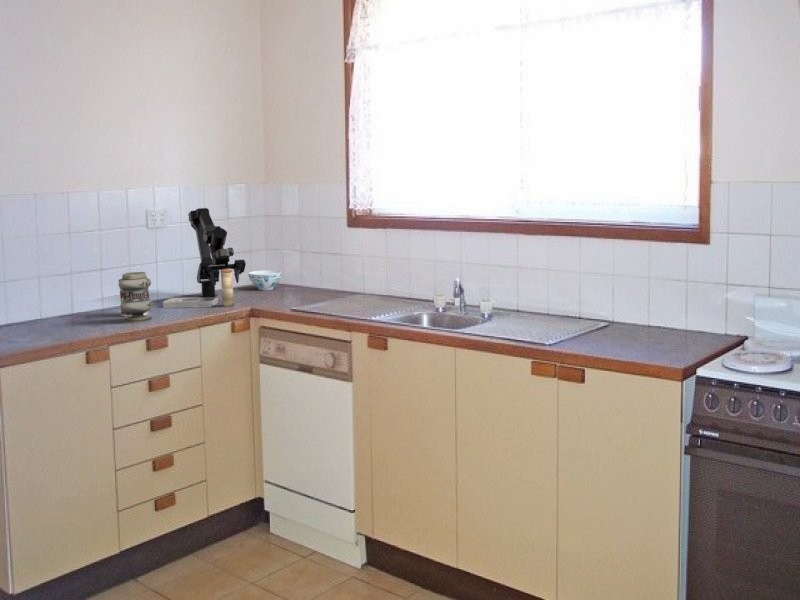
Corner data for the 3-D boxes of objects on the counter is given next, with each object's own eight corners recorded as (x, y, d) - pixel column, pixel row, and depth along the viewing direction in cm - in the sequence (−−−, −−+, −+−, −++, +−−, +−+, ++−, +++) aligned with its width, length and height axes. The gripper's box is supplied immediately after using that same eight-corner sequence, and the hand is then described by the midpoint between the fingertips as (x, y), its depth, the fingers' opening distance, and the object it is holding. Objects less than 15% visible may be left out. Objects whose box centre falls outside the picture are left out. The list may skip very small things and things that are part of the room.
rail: (171, 304, 397) (170, 298, 396) (218, 303, 395) (217, 297, 394) (163, 307, 387) (162, 301, 386) (211, 307, 385) (211, 300, 385)
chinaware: (271, 285, 443) (270, 269, 442) (289, 288, 432) (288, 271, 431) (243, 289, 434) (242, 272, 432) (260, 292, 422) (259, 275, 421)
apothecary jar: (120, 319, 362) (116, 272, 360) (152, 316, 366) (149, 269, 364) (122, 324, 351) (119, 275, 348) (156, 321, 355) (152, 273, 353)
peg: (224, 305, 389) (222, 268, 387) (235, 305, 388) (233, 268, 386) (221, 306, 384) (219, 270, 382) (232, 306, 384) (230, 269, 382)
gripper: (198, 243, 384) (206, 272, 376) (243, 239, 392) (252, 268, 383) (194, 260, 392) (202, 290, 384) (239, 257, 400) (248, 286, 392)
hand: (226, 283), depth 386 cm, fingers open, 9 cm apart
